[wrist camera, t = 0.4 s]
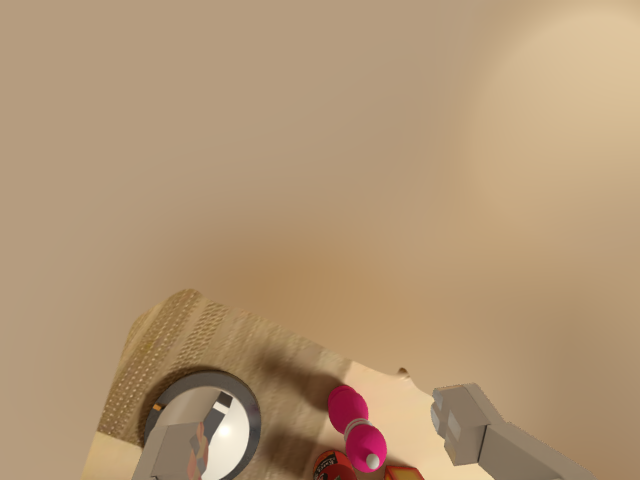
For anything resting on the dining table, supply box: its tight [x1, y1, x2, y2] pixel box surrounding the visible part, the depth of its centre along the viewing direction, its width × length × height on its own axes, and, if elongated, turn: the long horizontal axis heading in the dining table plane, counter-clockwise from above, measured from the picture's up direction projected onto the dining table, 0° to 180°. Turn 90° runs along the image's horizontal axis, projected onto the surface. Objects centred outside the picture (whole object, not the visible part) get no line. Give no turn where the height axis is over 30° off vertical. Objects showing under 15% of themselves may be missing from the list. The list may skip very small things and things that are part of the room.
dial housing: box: [144, 370, 261, 480], centre depth 57 cm, size 20×20×3 cm
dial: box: [155, 385, 250, 480], centre depth 53 cm, size 16×16×6 cm
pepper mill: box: [328, 385, 387, 473], centre depth 52 cm, size 7×7×20 cm
